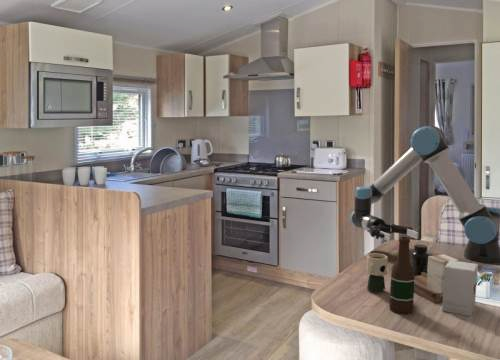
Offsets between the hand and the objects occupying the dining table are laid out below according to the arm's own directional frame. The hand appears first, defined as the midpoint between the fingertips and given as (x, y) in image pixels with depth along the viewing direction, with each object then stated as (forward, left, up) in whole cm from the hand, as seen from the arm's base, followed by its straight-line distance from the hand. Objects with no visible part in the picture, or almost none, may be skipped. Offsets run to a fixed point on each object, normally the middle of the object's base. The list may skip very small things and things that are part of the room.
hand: (404, 237), depth 201 cm
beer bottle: (+28, +36, -13) cm, 47 cm away
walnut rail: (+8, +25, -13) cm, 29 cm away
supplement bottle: (0, +10, -13) cm, 17 cm away
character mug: (+26, +19, -13) cm, 35 cm away
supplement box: (+10, +42, -13) cm, 45 cm away
